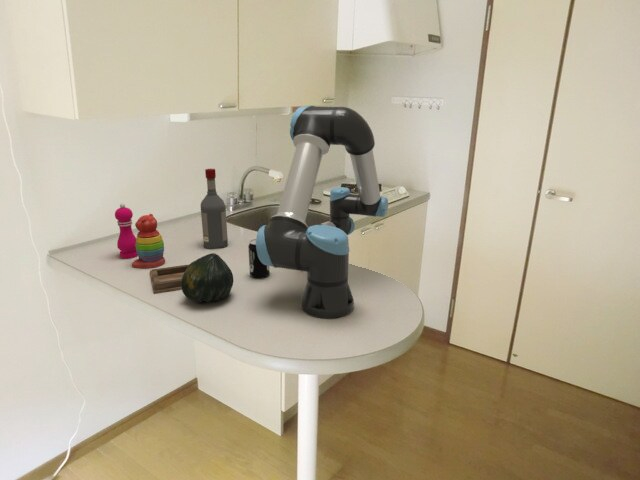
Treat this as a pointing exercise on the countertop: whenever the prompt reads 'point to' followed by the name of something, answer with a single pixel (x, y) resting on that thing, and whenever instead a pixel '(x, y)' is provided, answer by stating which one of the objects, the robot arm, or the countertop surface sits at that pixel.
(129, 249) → the pepper mill
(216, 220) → the liquor
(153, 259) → the stacking bear
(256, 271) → the beverage can
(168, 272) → the brown wooden flat tray
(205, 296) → the squash
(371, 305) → the countertop surface
